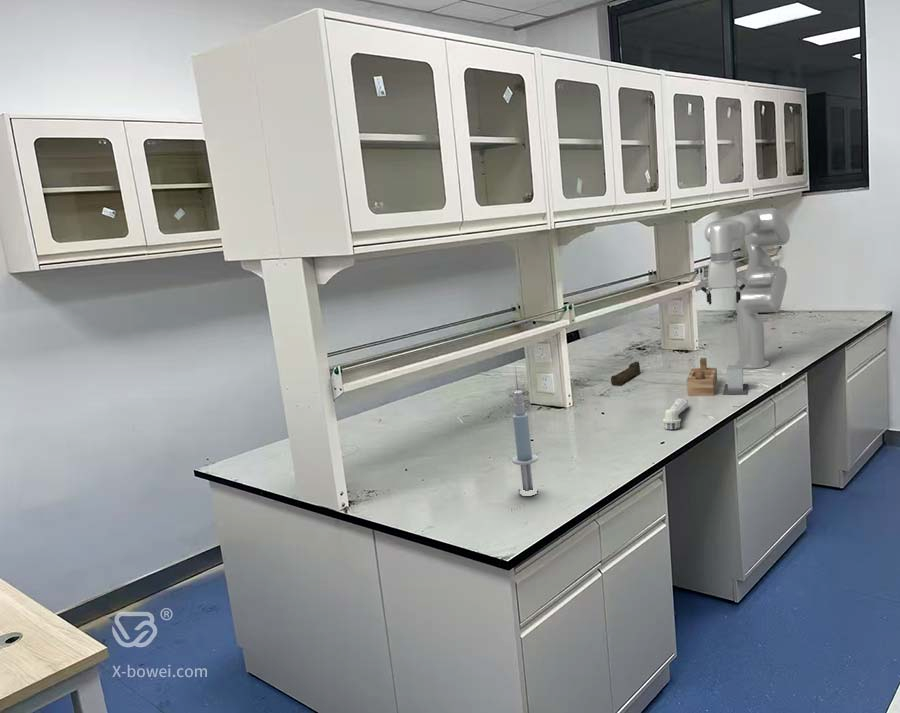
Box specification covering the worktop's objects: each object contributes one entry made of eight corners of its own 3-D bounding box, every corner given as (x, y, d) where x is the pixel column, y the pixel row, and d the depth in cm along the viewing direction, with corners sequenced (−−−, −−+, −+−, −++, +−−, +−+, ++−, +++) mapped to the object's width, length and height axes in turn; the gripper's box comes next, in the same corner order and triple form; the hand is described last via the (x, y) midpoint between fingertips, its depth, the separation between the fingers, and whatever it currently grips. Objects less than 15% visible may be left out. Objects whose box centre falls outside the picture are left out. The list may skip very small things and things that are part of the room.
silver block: (729, 386, 264) (727, 365, 262) (743, 385, 262) (742, 364, 260) (727, 391, 258) (726, 369, 256) (742, 390, 256) (741, 369, 254)
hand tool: (621, 387, 284) (620, 373, 282) (610, 386, 287) (609, 372, 286) (647, 373, 300) (646, 360, 299) (636, 372, 303) (635, 360, 302)
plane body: (692, 383, 275) (691, 358, 273) (717, 382, 271) (716, 357, 270) (687, 395, 259) (686, 369, 257) (713, 395, 256) (712, 368, 254)
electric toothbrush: (690, 397, 245) (678, 408, 222) (690, 416, 245) (679, 429, 223) (674, 397, 247) (660, 408, 224) (674, 416, 247) (661, 429, 225)
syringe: (521, 499, 186) (508, 364, 179) (517, 490, 192) (505, 359, 186) (542, 496, 186) (531, 361, 179) (538, 487, 192) (526, 356, 186)
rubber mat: (725, 384, 268) (725, 383, 267) (748, 384, 264) (748, 383, 264) (722, 394, 255) (722, 393, 255) (746, 394, 252) (746, 393, 252)
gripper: (747, 254, 262) (749, 300, 266) (698, 258, 270) (700, 303, 273) (746, 256, 256) (748, 303, 259) (696, 260, 263) (698, 306, 266)
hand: (723, 303), depth 266 cm, fingers open, 9 cm apart
